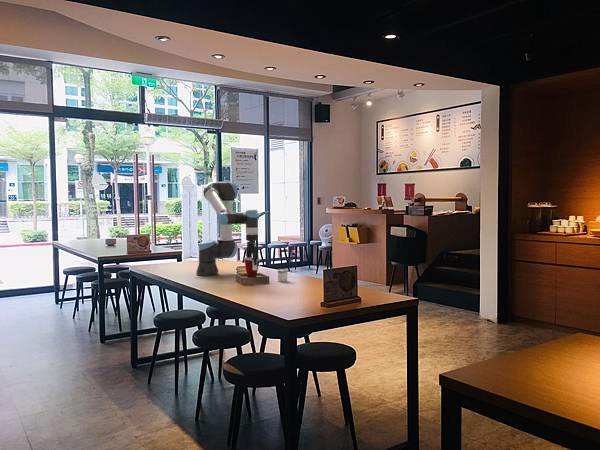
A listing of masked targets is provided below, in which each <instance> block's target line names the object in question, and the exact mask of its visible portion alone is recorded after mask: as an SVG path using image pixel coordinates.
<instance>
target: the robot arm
mask: <svg viewBox="0 0 600 450" xmlns="http://www.w3.org/2000/svg"><path fill="white" fill-rule="evenodd" d="M203 197H204V199H205V200H206V201H207V202H209V204H210V205H211V207H212V208H213V210H214V211H215V213H216V221H217V224H218V225H219V237H218V238H217V241H216V240H214V239H211V240H204V241H200V242H199V243H198V266H197V268H196V272H195V273H196V276H200V277H201V276H202V277H205V276H206V277H209V276H210V277H211V276H217V275H219V268H218V265H217V262H216V261H217V259H218V260H219V259H232V258H234V257H236V255H237V252H238V244H237V241H235V238H234V237H233V225H245V234H246V235H245V240H246V241H247V242H246V252H245V253H246V254H245V256H246V258H253V259H252V260H253V270H257V259H258V258H259V253H258V252H259V251H258V243H257V242H256V241H258V240H259V235H258V234H259V227H258V226H259V212H258V210H257V209H246V211H242V212H233V203H234V202H235V199H236V198H238V188H237V185H236V183H235V182H233V181H213V180H212V181H211V182H209V183H207V184H206V185H205V187H203Z"/></svg>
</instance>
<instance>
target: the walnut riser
mask: <svg viewBox="0 0 600 450" xmlns="http://www.w3.org/2000/svg"><path fill="white" fill-rule="evenodd" d="M235 282H236V283H238V284H241V286H248V285H263V284H270V276H269V275H267V274H265V273H262V272H257V276H256V277H247V273H238V274H236V273H235Z"/></svg>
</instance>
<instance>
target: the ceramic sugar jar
mask: <svg viewBox="0 0 600 450" xmlns="http://www.w3.org/2000/svg"><path fill="white" fill-rule="evenodd" d="M277 282H280V283H285V282H288V269H277Z"/></svg>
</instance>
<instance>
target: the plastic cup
mask: <svg viewBox="0 0 600 450" xmlns="http://www.w3.org/2000/svg"><path fill="white" fill-rule="evenodd" d="M252 259H253V257H250V258H247V257H243V261H244V266H245V271H246V274H247V277H256V276H257V273H258V271H259V266H260V265H259V264H260V261H261V258H259V257H258V259H257V270H253V260H252Z"/></svg>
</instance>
